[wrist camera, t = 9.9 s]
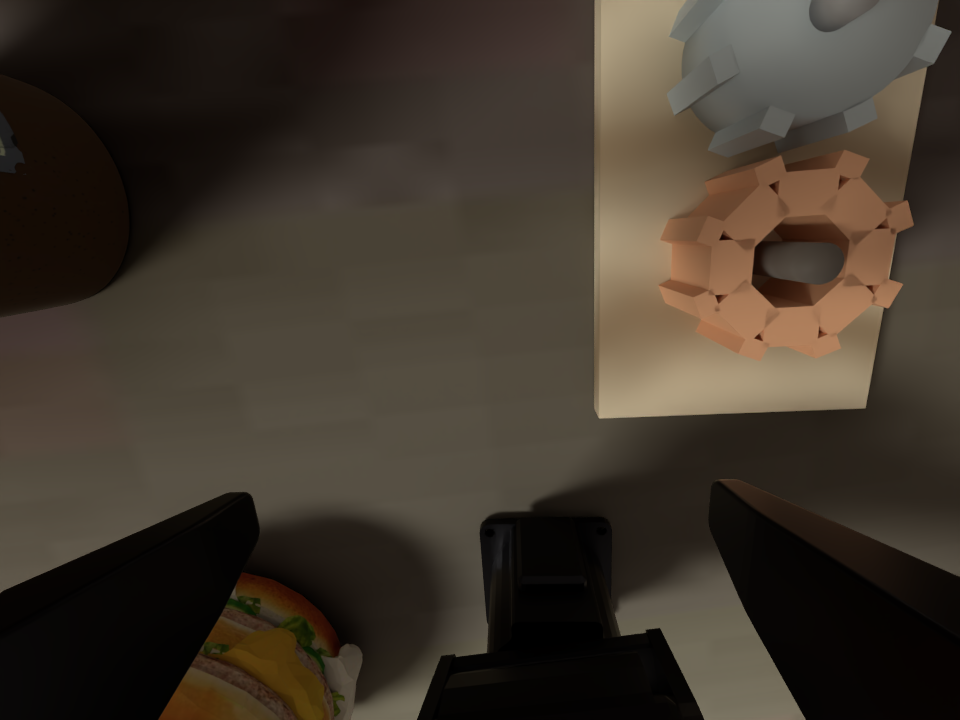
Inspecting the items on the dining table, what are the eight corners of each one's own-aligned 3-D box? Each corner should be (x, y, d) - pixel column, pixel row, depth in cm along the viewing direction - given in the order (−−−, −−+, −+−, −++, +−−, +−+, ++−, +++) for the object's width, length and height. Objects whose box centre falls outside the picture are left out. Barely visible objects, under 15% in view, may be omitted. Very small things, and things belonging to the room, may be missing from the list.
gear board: (844, 398, 20) (973, 461, 14) (594, 408, 21) (624, 471, 15) (940, -182, 14) (1208, -440, 9) (595, -135, 15) (643, -342, 10)
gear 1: (844, 148, 16) (968, 116, 12) (663, 162, 16) (718, 137, 12) (874, -67, 14) (1034, -199, 10) (672, -44, 15) (739, -158, 10)
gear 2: (818, 331, 18) (890, 354, 14) (656, 340, 18) (689, 365, 15) (841, 161, 16) (929, 142, 13) (662, 176, 17) (700, 162, 13)
